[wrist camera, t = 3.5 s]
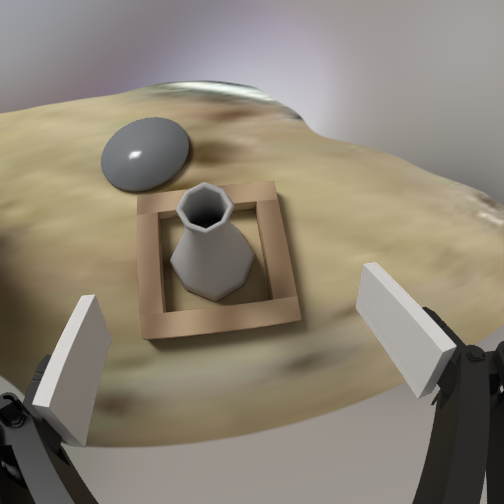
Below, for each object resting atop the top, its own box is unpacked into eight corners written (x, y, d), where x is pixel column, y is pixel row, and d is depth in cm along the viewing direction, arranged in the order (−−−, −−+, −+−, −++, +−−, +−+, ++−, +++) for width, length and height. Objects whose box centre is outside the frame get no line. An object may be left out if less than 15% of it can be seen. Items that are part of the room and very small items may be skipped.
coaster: (86, 176, 28) (84, 173, 27) (134, 114, 31) (133, 110, 30) (160, 204, 27) (158, 201, 27) (204, 132, 30) (204, 129, 30)
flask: (269, 255, 26) (292, 202, 17) (216, 316, 24) (209, 295, 15) (209, 207, 28) (203, 139, 18) (156, 263, 25) (120, 213, 16)
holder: (147, 339, 23) (142, 339, 22) (141, 203, 27) (137, 196, 26) (297, 321, 25) (301, 319, 23) (271, 189, 29) (274, 181, 27)
